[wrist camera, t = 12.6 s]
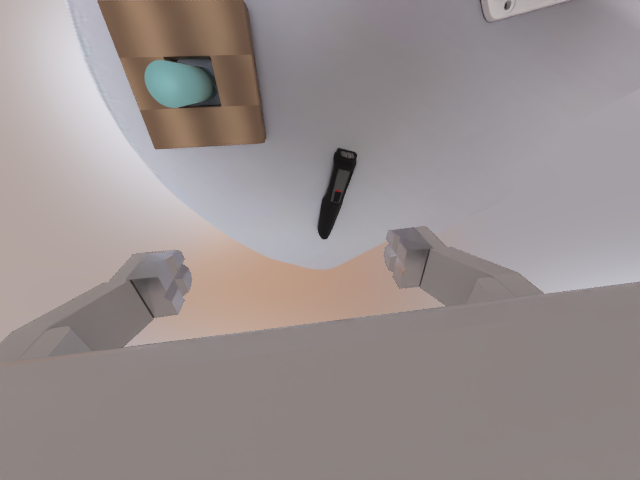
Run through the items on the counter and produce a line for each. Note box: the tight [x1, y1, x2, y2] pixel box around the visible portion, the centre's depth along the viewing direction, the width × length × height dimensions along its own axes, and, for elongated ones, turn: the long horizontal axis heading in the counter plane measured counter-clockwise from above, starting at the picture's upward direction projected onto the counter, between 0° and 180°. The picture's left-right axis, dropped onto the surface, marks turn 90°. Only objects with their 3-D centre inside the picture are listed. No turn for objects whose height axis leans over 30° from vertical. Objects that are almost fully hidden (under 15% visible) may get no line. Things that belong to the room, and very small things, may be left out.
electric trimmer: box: [318, 148, 357, 239], centre depth 41 cm, size 4×16×3 cm, turn 165°
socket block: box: [97, 0, 266, 149], centre depth 30 cm, size 14×14×4 cm
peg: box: [144, 60, 218, 108], centre depth 27 cm, size 4×4×12 cm
